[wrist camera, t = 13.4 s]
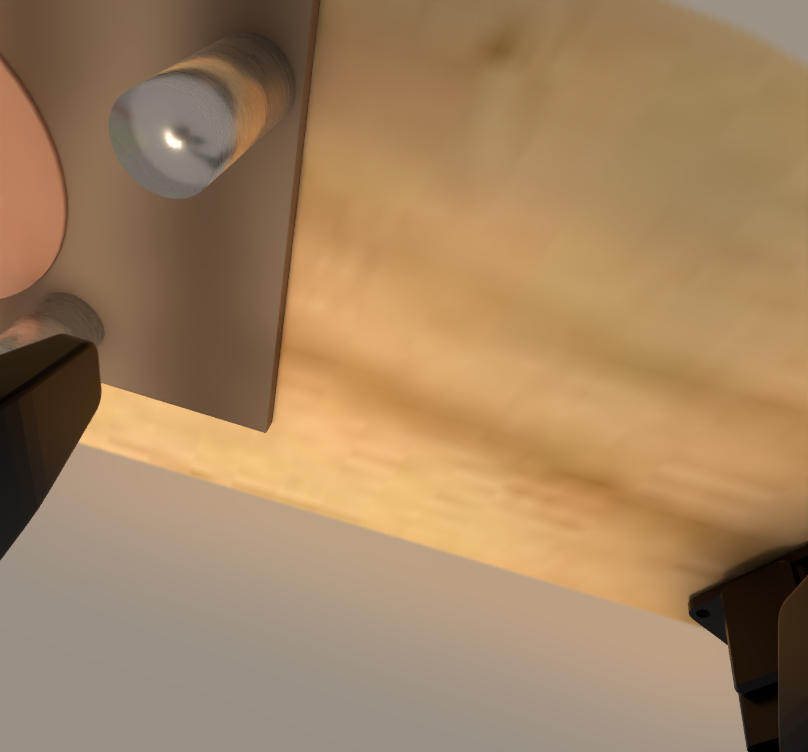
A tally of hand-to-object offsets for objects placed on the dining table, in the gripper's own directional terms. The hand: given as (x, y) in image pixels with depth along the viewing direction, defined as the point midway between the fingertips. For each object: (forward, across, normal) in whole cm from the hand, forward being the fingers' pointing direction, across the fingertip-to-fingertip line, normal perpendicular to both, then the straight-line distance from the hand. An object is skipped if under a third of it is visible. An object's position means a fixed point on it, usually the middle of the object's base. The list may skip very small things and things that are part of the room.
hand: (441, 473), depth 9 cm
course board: (+13, +15, +6) cm, 20 cm away
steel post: (+12, +10, +5) cm, 17 cm away
